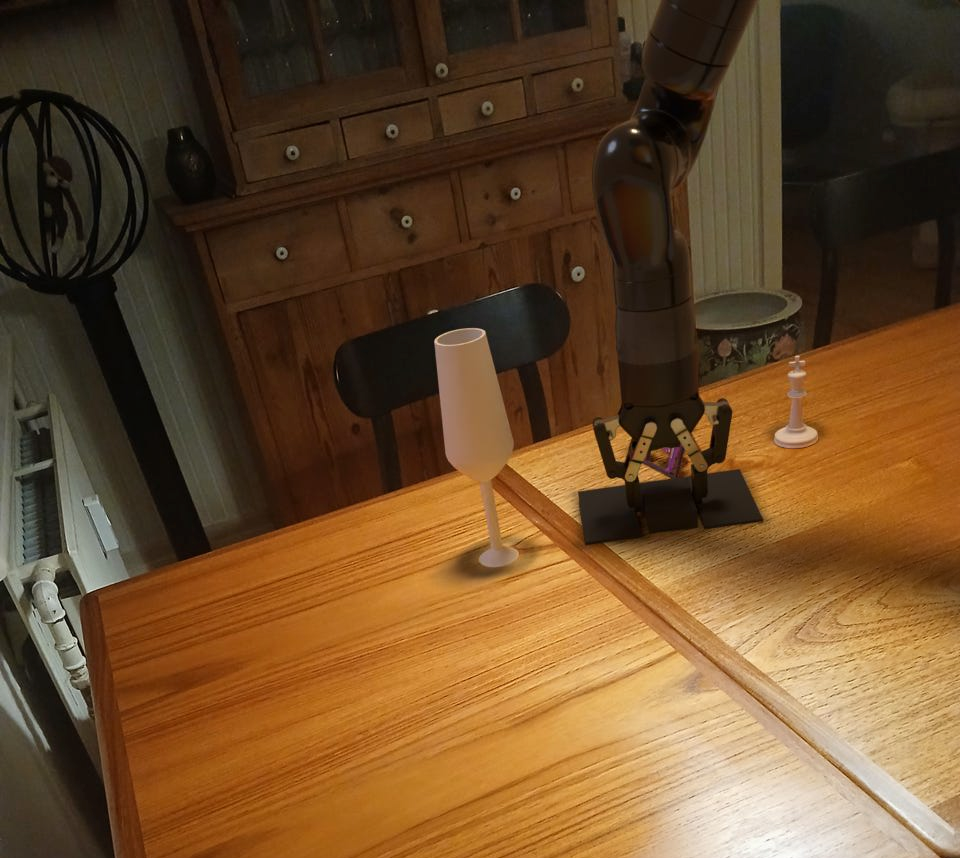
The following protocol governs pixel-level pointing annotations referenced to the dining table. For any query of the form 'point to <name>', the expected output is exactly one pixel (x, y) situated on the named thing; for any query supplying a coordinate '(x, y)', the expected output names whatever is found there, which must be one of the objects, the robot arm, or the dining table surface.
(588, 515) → the notched mat
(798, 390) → the chess piece
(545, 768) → the dining table surface
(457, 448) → the champagne flute
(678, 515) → the small pad
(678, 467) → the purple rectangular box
